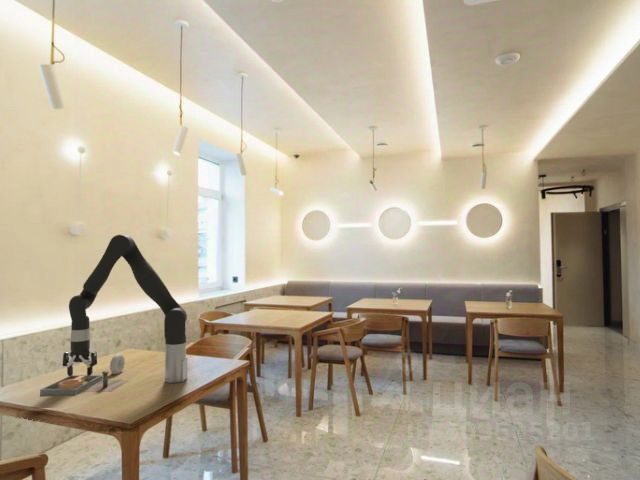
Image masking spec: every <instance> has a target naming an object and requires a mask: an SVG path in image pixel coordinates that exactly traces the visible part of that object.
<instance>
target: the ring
mask: <svg viewBox="0 0 640 480" xmlns="http://www.w3.org/2000/svg"><path fill="white" fill-rule="evenodd" d="M83 383H84V384H85V383H86V380H85V376H79V377H77V378H75V379H70V380H65V381H62V382H60V383H58V388H57V389H76V388H78V387H80V386H82V385H84V384H83Z"/></svg>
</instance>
